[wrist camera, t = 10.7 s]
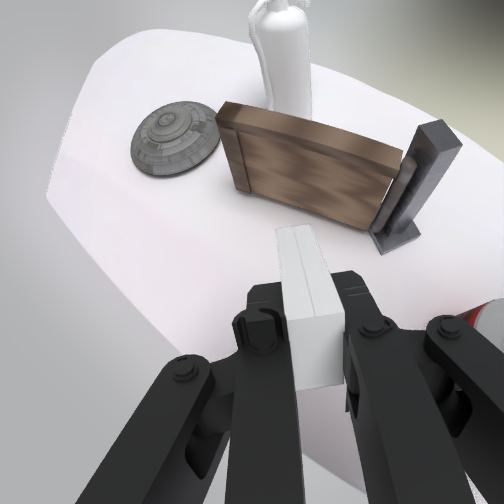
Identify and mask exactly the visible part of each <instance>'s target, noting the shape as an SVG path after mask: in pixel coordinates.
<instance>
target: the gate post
mask: <svg viewBox="0 0 504 504" xmlns="http://www.w3.org/2000/svg"><path fill="white" fill-rule="evenodd" d="M462 145H463V144H462V143H461V142H460V140H459V139H458V138H457V137H456V135H455V134H454V133H453V132H452V130H451V129H450V128H449V127H448V126H447V124H446V123H445V122H444V121H443V120H442V119H441V120H437V121H433V122H429V123H426V124H422V125H419V126H418V128H417V130H416V133H415V135H414V137H413V140H412V142H411V144H410V147H409V149H408V151H407V153H406V156H405V157H410V158H412V159H414V160H415V162H416V164H417V167H416V169H415V171H414V173H413V175H412V177H411V179H410V181H409V183H408V184H407V186H406V188H405V190H404V192H403V193H402V195H401V197H400V199H399V201H398V202H397V204H396V206H395V208H394V209H393V211H392V213H391V215H390V216H389V218H388V220H387V222H386V223H385V225H384V227H383V228H382V230H381V232H379V233H374V232H373V231H372V230H371V225H372V223H373V221H374V219H375V217H376V215H377V213H378V211H379V209H380V207H381V205H382V203H383V202H382V203H381V204H380V206H379V208H378V210H377V212H376V214H375V216H374V218H373V220H372V222H371V224H370V226H369V228H368V231H369V233H370V235H371V237H372V238H373V240H374V242H375V244H376V246H377V248H378V250H379V251H380V253H381V255H383V254H385V253H387V252H390V251H392V250H394V249H396V248H398V247H400V246H402V245H404V244H406V243H408V242H410V241H412V240H414V239H416V238H418V237H419V236H420V235H421V234H420V232H419V230H418V228H417V227H416V225H415V223H414V222H413V219H414V218H415V216H416V215H417V213H418V212H419V211H420V209H421V208H422V206H423V205H424V203H425V202H426V201H427V199H428V198H429V196H430V195H431V193H432V192H433V190H434V189H435V187H436V186H437V184H438V183H439V181H440V180H441V178H442V177H443V175H444V174H445V172H446V171H447V169H448V168H449V166H450V165H451V163H452V161H453V160H454V158H455V157H456V155H457V154H458V152H459V150H460V149H461V147H462Z"/></svg>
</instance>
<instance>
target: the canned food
mask: <svg viewBox="0 0 504 504" xmlns="http://www.w3.org/2000/svg"><path fill="white" fill-rule="evenodd" d="M456 317H460V318H461V319H463V320H465V321H466V322H468V323H469V324H470V325H471V326H472V327H474V328H475V329H476V330H477V331H478V332H480V333H481V334H482V335H483V336H484V337H486V338H487V339H488V340H489V341H490V342H491V343H493V344H494V345H495V346H496V347H497V348H498V349H499V350H501V351H502V352H503V353H504V298H501V299H496V300H492V301H490V302H487V303H485V304H483V305H480V306H478V307H476V308H473V309H471V310H469V311H466V312H464V313H462V314H459V315H457V316H456Z"/></svg>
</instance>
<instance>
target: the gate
mask: <svg viewBox="0 0 504 504" xmlns="http://www.w3.org/2000/svg"><path fill="white" fill-rule="evenodd" d="M215 121H216V124H217V127H218V131H219V134H220V137H221V140H222V144H223V147H224V150H225V153H226V157H227V160H228V163H229V167H230V170H231V173H232V176H233V180H234V183H235V186H236V189H237V190H240V191H243V192H247V193H250V194H251V192H254V193H257V194H260V195H263V196H266V197H269V198H272V199H275V200H278V201H281V202H284V203H287V204H290V205H293V206H296V207H299V208H302V209H305V210H308V211H311V212H314V213H317V214H320V215H323V216H325V217H328V218H331V219H334V220H337V221H340V222H342V223H345V224H348V225H351V226H353V227H356V228H359V229H362V230H364V231H367V230H368V228H369V226H370V224H371V222H372V220H373V218H374V216H375V214H376V212H377V210H378V208H379V206H380V204H381V202H382V200H383V197H384V195H385V193H386V191H387V189H388V187H389V185H390V183H391V180H392V179H394V180H393V182H392V184H391V186H390V188H389V190H388V192H387V194H386V196H385V198H384V201H383V203H382V205H381V207H380V209H379V211H378V213H377V215H376V217H375V219H374V221H373V223H372V225H371V230H372V231H373V232H374V233H379V232H381V230H382V228H383V227H384V225H385V223H386V222H387V220H388V218H389V216H390V215H391V213H392V211H393V209H394V208H395V206H396V204H397V202H398V201H399V199H400V197H401V195H402V193H403V192H404V190H405V188H406V186H407V184H408V183H409V181H410V179H411V177H412V175H413V173H414V171H415V169H416V167H417V164H416V162H415V160H414V159H412V158H410V157H405V158H403V160H402V162H401V159H402V154H403V150H400V149H398V148H395V147H392V146H390V145H387V144H384V143H381V142H379V141H376V140H373V139H370V138H367V137H364V136H361V135H358V134H355V133H352V132H348V131H345V130H342V129H339V128H335V127H332V126H329V125H325V124H322V123H318V122H315V121H311V120H307V119H303V118H300V117H296V116H292V115H288V114H284V113H280V112H275V111H271V110H267V109H262V108H257V107H253V106H248V105H243V104H238V103H232V102H227V101H226V102H225V103H224V104H223V106H222V107H221V109H220V110H219V112H218V113H217V114H216V116H215Z"/></svg>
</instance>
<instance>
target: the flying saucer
mask: <svg viewBox="0 0 504 504" xmlns="http://www.w3.org/2000/svg"><path fill="white" fill-rule="evenodd" d="M216 114H217V113H216V112H215V111H214V110H212V109H211V108H210V107H208V106H206V105H204V104H201V103H197V102H191V101H181V102H175V103H171V104H167V105H165V106H163V107H160V108H159V109H157V110H155V111H154V112H152V113H151V114H150V115H148V116H147V117H146V118H145V119H144V120H143V121H142V123H141V124H140V125H139V126H138V128H137V130H136V132H135V134H134V136H133V139H132V142H131V158H132V160H133V162H134V164H135V165H136V166H137V167H138V168H139V169H140V170H142V171H143V172H146V173H148V174H152V175H170V174H175V173H179V172H182V171H184V170H187V169H189V168H191V167H193V166H195V165H196V164H198V163H199V162H201V161H202V160H203V159H204V158H206V157H207V156H208V155H209V154H210V153H211V151H212V150H213V149H214V148H215V146H216V145H217V143H218V141H219V139H220V134H219V131H218V127H217V124H216V121H215V116H216Z"/></svg>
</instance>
